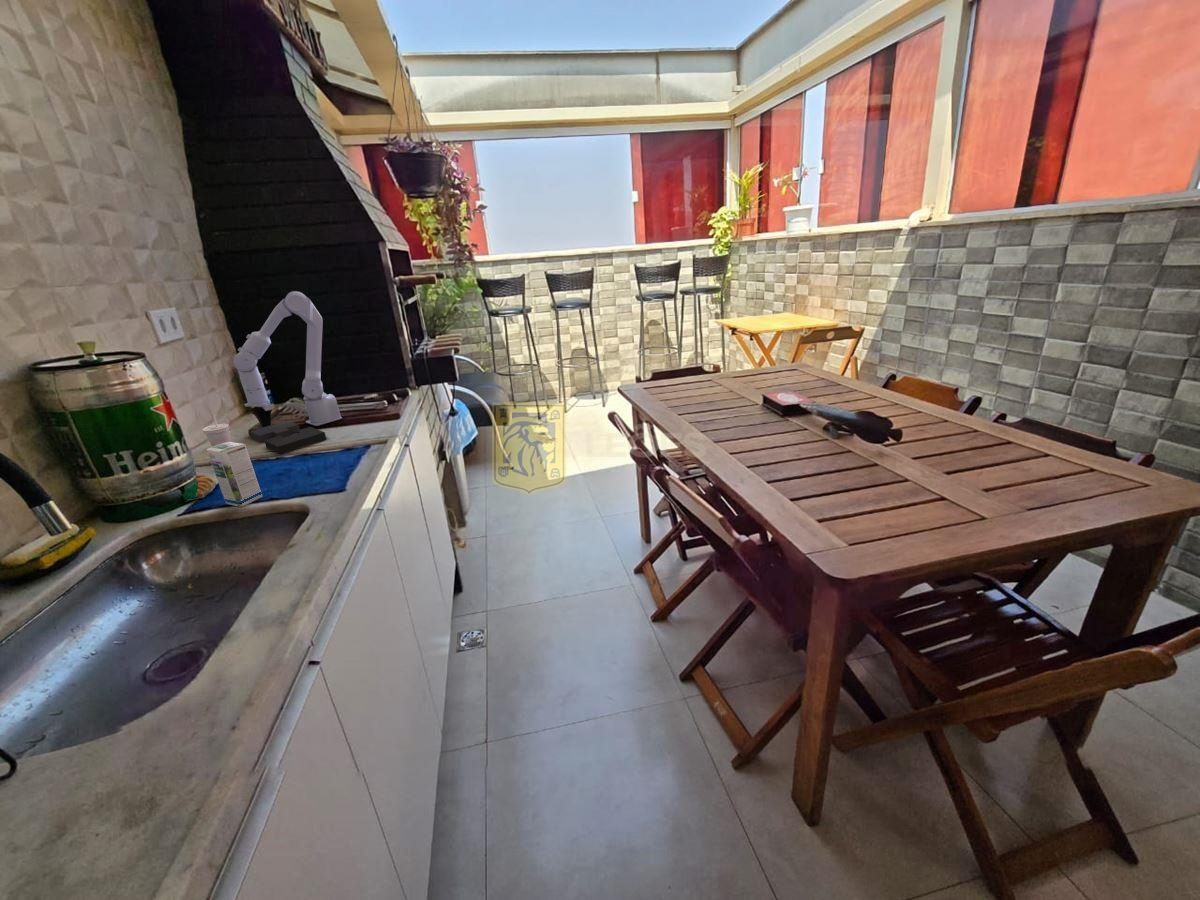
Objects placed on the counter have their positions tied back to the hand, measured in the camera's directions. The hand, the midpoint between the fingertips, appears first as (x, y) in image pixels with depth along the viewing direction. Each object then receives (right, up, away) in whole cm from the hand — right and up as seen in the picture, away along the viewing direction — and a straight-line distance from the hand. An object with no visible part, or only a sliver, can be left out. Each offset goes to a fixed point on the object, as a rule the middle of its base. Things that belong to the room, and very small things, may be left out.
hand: (266, 427), depth 166 cm
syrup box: (+27, -20, -47) cm, 58 cm away
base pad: (+18, -6, -12) cm, 22 cm away
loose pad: (+7, -3, -4) cm, 8 cm away
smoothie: (+2, -10, -20) cm, 23 cm away
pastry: (+12, -19, -42) cm, 48 cm away
